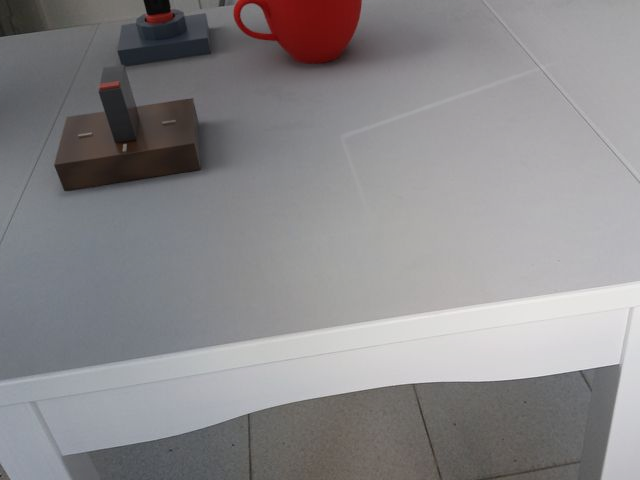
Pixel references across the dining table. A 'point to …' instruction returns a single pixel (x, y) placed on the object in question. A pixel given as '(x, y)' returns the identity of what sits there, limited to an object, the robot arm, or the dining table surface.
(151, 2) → the robot arm
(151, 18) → the button
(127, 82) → the pointer knob
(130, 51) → the button box
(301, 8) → the ceramic cup
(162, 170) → the dial panel
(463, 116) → the dining table surface
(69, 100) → the dining table surface
